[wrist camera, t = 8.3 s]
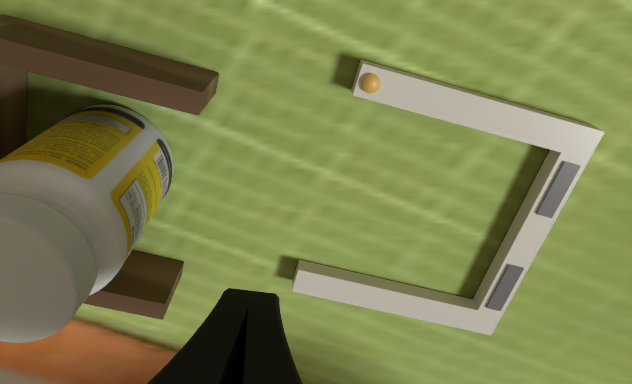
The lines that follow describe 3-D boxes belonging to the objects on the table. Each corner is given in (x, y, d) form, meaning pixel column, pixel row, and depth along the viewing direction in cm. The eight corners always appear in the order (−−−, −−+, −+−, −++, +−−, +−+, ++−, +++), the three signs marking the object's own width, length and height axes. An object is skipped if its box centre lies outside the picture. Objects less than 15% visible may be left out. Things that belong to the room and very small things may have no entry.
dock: (485, 323, 23) (492, 337, 22) (292, 280, 22) (291, 292, 21) (593, 125, 19) (606, 132, 18) (360, 59, 18) (362, 63, 17)
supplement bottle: (33, 146, 19) (-149, 264, 12) (116, 77, 18) (-26, 159, 11) (119, 230, 21) (9, 380, 13) (200, 172, 20) (130, 301, 12)
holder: (181, 275, 22) (162, 319, 19) (5, 237, 21) (-41, 277, 18) (219, 73, 18) (202, 92, 15) (4, 14, 17) (-54, 24, 14)
